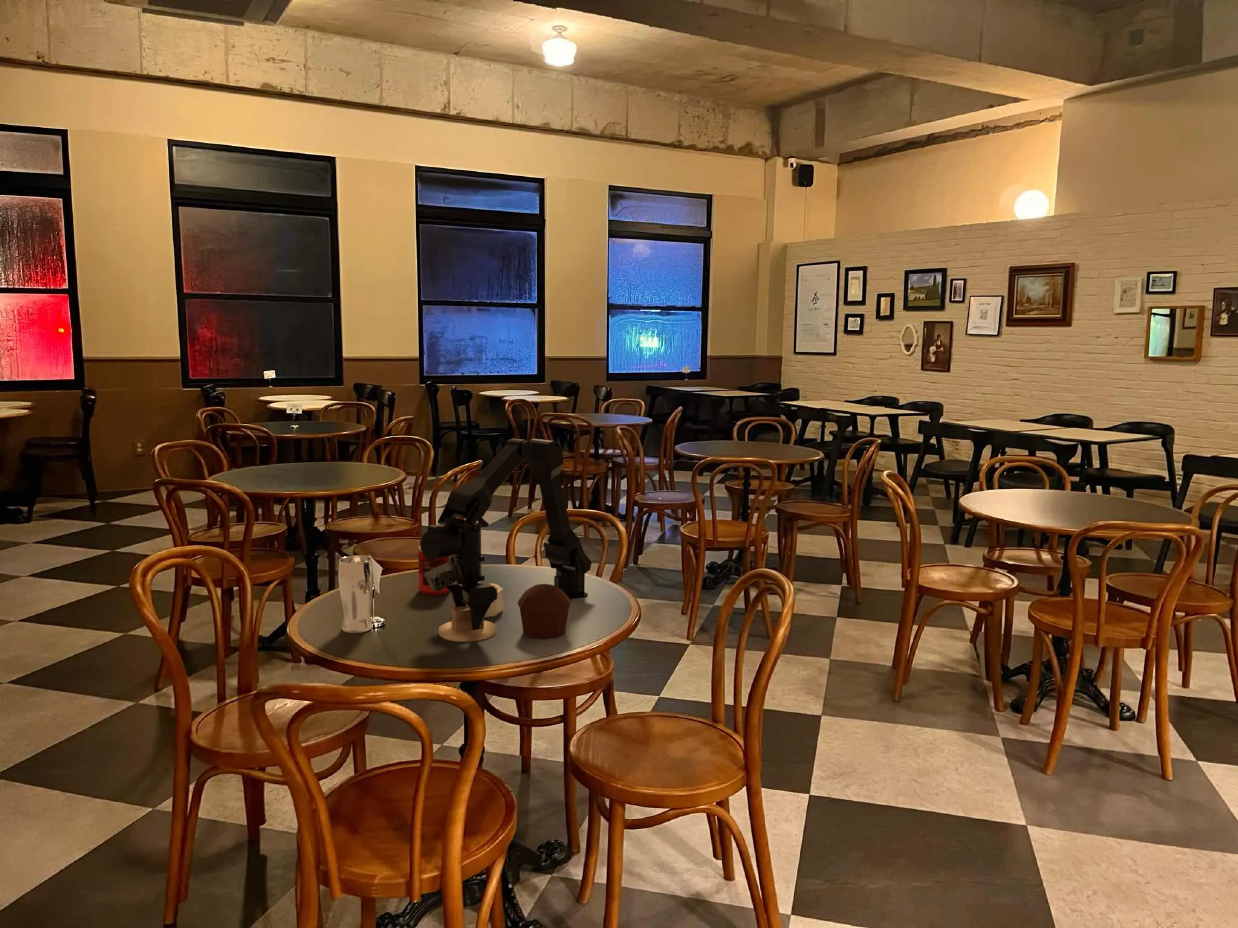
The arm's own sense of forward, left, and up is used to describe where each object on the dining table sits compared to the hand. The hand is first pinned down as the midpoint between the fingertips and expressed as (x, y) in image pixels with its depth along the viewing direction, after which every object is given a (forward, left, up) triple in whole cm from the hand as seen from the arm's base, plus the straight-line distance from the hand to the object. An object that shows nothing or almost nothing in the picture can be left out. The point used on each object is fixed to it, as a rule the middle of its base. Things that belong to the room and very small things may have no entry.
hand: (467, 622), depth 184 cm
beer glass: (+20, -12, -2) cm, 23 cm away
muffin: (-14, +8, -2) cm, 16 cm away
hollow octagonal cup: (-7, -12, -2) cm, 14 cm away
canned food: (-3, -31, -2) cm, 31 cm away
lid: (0, 0, -2) cm, 2 cm away
